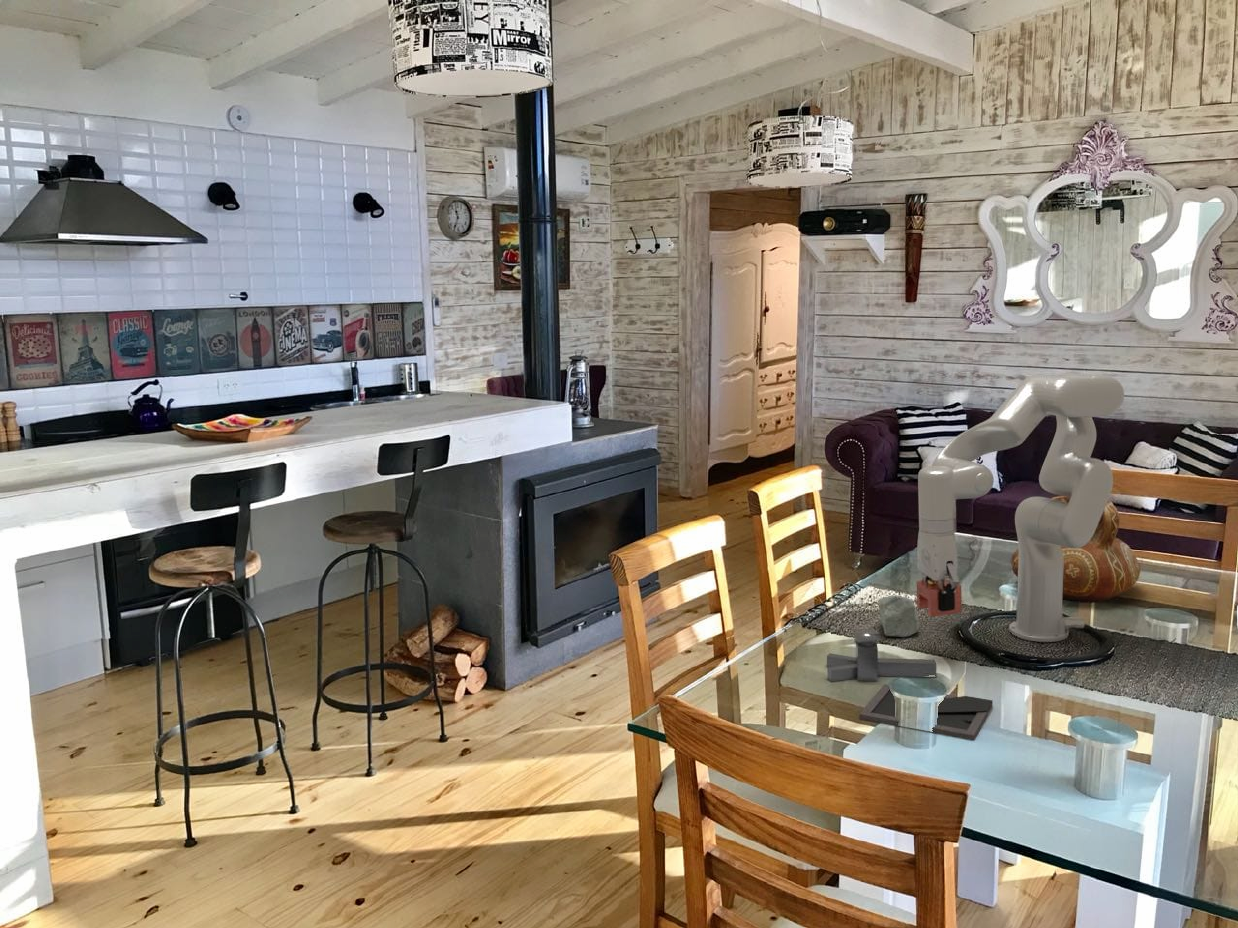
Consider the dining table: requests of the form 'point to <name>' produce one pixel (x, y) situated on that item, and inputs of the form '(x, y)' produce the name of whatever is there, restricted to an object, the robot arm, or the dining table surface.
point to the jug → (1096, 563)
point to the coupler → (874, 662)
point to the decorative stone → (898, 616)
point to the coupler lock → (935, 597)
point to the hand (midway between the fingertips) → (939, 604)
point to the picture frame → (953, 713)
